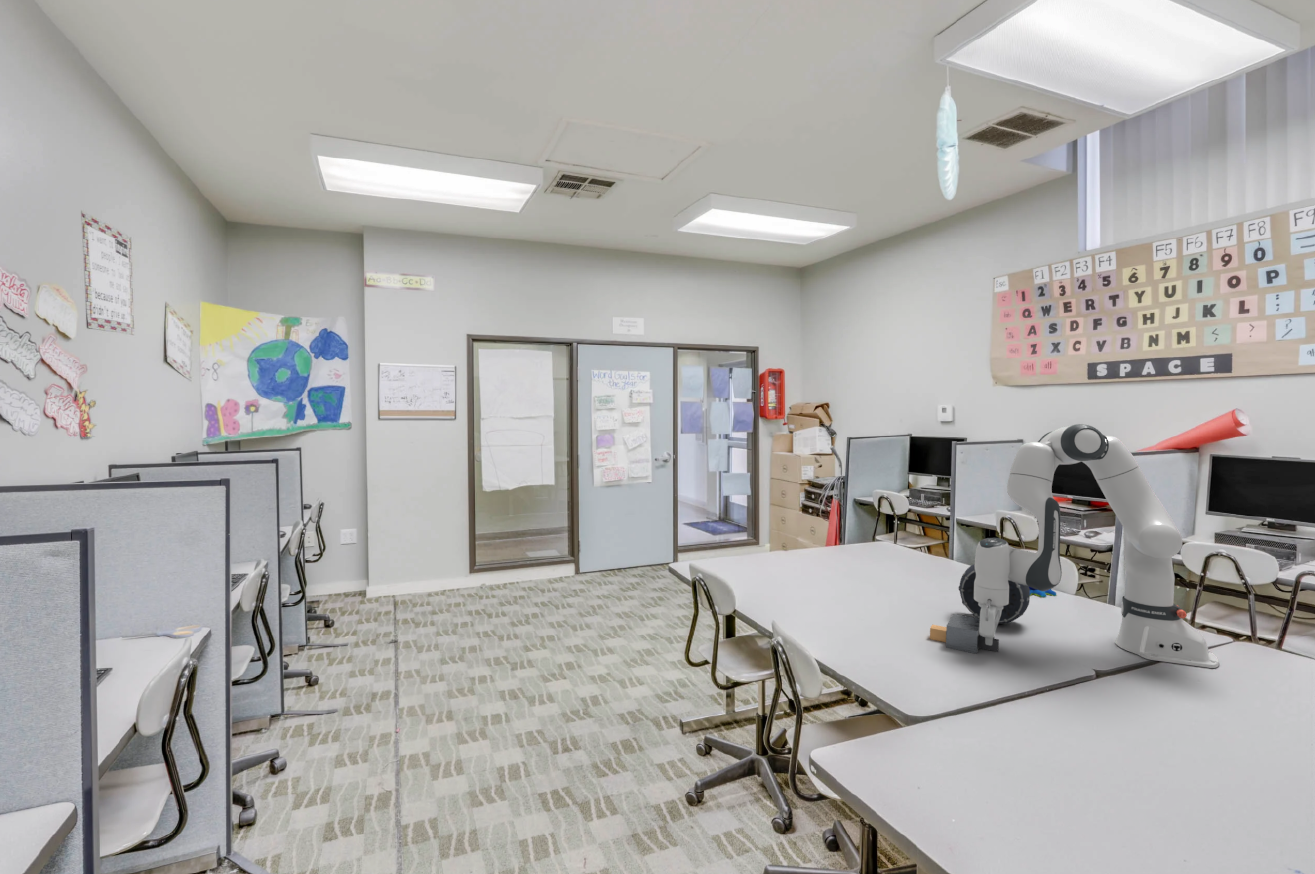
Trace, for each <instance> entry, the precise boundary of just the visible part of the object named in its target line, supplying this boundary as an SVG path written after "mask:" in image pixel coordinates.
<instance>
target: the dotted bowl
mask: <svg viewBox="0 0 1315 874" xmlns="http://www.w3.org/2000/svg"><path fill="white" fill-rule="evenodd" d="M975 578H976V572H975V563H973V564H971V565H970V566H969V567H968V568H967V569H966V570H965V571H964V572H963V573H962V576H961V579H960V582H959V586H958V591H959V595H960V598H961V603H962V604H961V605H963V606H965V608H966V609H967V610H968V611H969V612H970V613H971V614H972V617H974V618H980V611H981V607H980V606H979V605H978V603H979V602H977V601H975V600H974V581H975ZM1008 584H1009V604H1008V605H1005V606H1003V609H1002V612H1001V617H1000V620H999V623H998V625H1000V624H1011V623H1012V622H1014V621H1016V620H1017V619H1019V618H1020V617H1022V616H1023V615H1025V612H1026V611H1027V609H1028V607H1029V605H1030V597H1031V596H1030V589H1029V586H1027V585H1023V584H1019V583H1016V582H1012V581H1010V580H1008Z"/></svg>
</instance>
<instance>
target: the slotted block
mask: <svg viewBox="0 0 1315 874" xmlns="http://www.w3.org/2000/svg"><path fill="white" fill-rule="evenodd" d="M979 624H980V618H976V617H974V616H969V615H968V616H967V615H963V614H956V613H953V614H952V615H951V617H950V619H949V621H948V623H947V624H946V627H947V629H946V642H945V648H947V649H951V648H952V649H951V650H956V649H957V651H960V652H961V651H962V652H966V653H967V652H968V653H970V654H971V653H972V654H978V652H979V648H978V641H979V636H981V635H980V634H979Z"/></svg>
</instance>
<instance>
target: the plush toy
mask: <svg viewBox="0 0 1315 874" xmlns="http://www.w3.org/2000/svg"><path fill="white" fill-rule="evenodd" d="M1029 589H1030V597H1032V595H1035V596H1036V597H1040V598H1047V595H1048V596H1052V597H1056V596H1057V592H1056V591H1054V590H1053V588H1052V589H1050V590H1047V591H1040V590H1037V589H1034V588H1032V587H1029Z"/></svg>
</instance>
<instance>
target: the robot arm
mask: <svg viewBox="0 0 1315 874" xmlns="http://www.w3.org/2000/svg"><path fill="white" fill-rule="evenodd" d="M1081 462H1082V463H1083V464H1085V465H1086V467H1088V468H1089V470H1090V471H1091V473H1092V475H1093V477H1094V479H1095V480H1096V483H1097V485H1098V487H1099V488H1100V490H1101V492H1102V493H1103V495H1104V497H1105V499H1106V501H1107V503H1108V504H1109V506H1110V507H1111V510H1112V511H1113V512H1114V513H1113V514H1115V516H1116V517H1117V519H1118V521H1119V523H1120V524H1121V526H1122V529H1123V533H1122V535H1123V536H1122V537H1123V555H1124V556H1123V557H1124V571H1125V574H1124V593H1123V594H1124V595H1123V596H1122V599H1121V607H1120V609H1121V611H1120V613H1121V617H1122V618H1121V623H1120V629H1119V632H1118V634H1117V637H1116V640H1115V642H1114V643H1115V644H1116V646H1118V647H1119V648H1121V649H1122V650H1125V651H1128V652H1130V653H1132V654H1135V655H1138V656H1140V657H1142V658H1143V659H1146V660H1149V661H1150V660H1151V661H1155V662H1156V661H1159V662H1166V663H1173V664H1179V665H1186V666H1196V667H1201V668H1210V669H1215V668H1218V667H1219V666H1220V664H1219V663H1220V662H1219V658H1218V657H1217V655H1216V654H1214V653H1213V652H1212V651H1210V650H1209V646H1208V642H1207V640H1206V638H1205V636H1204V635H1203V634H1202V633H1201V632H1200V631H1198V630H1197V629H1196V628H1194V627H1193V626H1192V625H1190V624H1189V623H1188V622H1187V621H1185V620H1184V619H1185V618H1187V615H1188V614H1187V613H1186V610H1183V608H1182V607H1180V606H1179V605H1178V604H1175V603H1174V600H1175V599H1174V598H1175V581H1176V580H1175V578H1176V576H1175V573H1174V567H1173V566H1174V565H1173V559H1172V557H1174V556H1176V555H1177V554H1178V553H1179V552H1180V551H1181V549H1182V547H1183V537H1182V533H1181V532H1180V530H1179V529H1178V527H1177V525H1176V523H1175V521H1174V520H1173V518H1172V516H1171V515H1170V514H1169V512H1168V511H1167V509H1166V507H1165V506H1164V505H1163V503H1162V502H1161V500H1160V499H1159V497H1158V496H1157V495H1156V492H1155V490H1153V488H1152V486H1151V485H1150V483H1149V481H1148V479H1147V477H1146V475H1145V473H1144V472H1143V469H1142V468H1141V467H1140V465H1139V463H1138V461H1137V460H1136V458H1135V457H1134V455H1133V454H1132V452H1131V451H1130V450H1129V448H1128V447H1127V446H1126V444H1124V442H1122V440H1120V438H1118V437H1116V436H1114V435H1113V436H1112V435H1104V434H1103V433H1102V432H1101V431H1100V430H1099V429H1097V428H1096V427H1094V426H1092V425H1089V424H1083V423H1081V424H1080V423H1077V424H1072V425H1068V426H1062V427H1059V428H1057V429H1056V430H1052V431H1049V432H1047V433H1046V434H1044V435H1043V436H1041V437H1040V439H1039V440H1038V441H1031V442H1026V443H1023V444H1022V445H1020V446H1019V448H1018V450H1017V452H1016V453H1015V456H1014V459H1013V461H1012V465H1011V468H1010V472H1009V475H1008V479H1007V483H1006V484H1007V486H1006V488H1007V489H1006V490H1007V494H1008V497H1009V498H1010V499H1011V500H1012V502H1014V503H1015V504H1016V505H1017V506H1018V507H1020V508H1022V509H1023V510H1025V511H1026V512H1029V513H1030V514H1032V515H1033V516H1034V517H1035V518H1036V520H1037V522H1038V544H1037V546H1038V547H1037V552H1032V551H1028V550H1023V549H1020V548H1015V547H1013V546H1011V545H1009V543H1008V542H1007V540H1005V539H1003V538H999V537H987V538H983V539H981V540H979V541H978V543H977V546H976V550H975V555H974V556H975V557H974V558H975V559H974V564H975V572H976V578H975V581H974V600H975V601H977V602H979V603H978V605H979V606H980V607H981V611H980V624H979V634H980V635H981V636H984V637H985V644H986V645H990V646H991V645H992V644H993V638H994V639H995V634H996V631H997V629H998V626H999V624H998V623H999V620H1000V617H1001V612H1002V609H1003V606H1005V605H1008V604H1009V584H1008V580H1010V581H1012V582H1016V583H1019V584H1023V585H1027V586H1029V587H1032V588H1034V589H1037V590H1040V591H1047V590H1050V589H1052V590H1053V589H1054V588H1056V587H1057V586H1058V585H1059V583H1060V582H1061V579H1062V574H1063V572H1062V565H1061V563H1062V562H1061V508H1060V503H1059V502H1058V501H1057V500H1056V499H1055V498H1054V495H1053V492H1052V491H1053V490H1052V489H1053V488H1052V486H1053V483H1054V482H1053V481H1054V476H1055V475H1054V474H1055V472H1056V470H1057V468H1058V466H1063V465H1074V464H1078V463H1081Z"/></svg>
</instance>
